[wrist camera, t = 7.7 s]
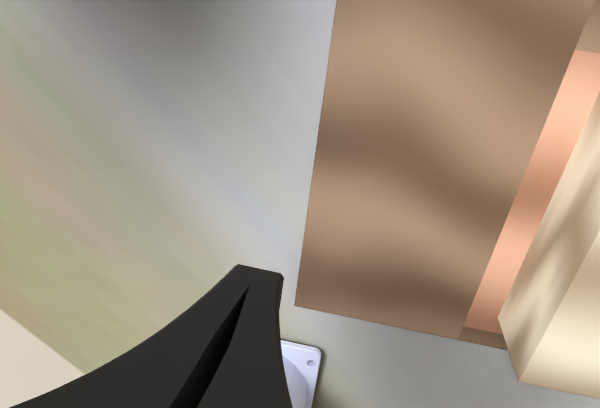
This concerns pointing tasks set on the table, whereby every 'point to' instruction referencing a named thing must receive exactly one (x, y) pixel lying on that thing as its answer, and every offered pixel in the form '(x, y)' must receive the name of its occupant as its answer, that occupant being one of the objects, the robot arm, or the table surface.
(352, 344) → the table surface
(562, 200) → the t block
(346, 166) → the brown rectangular board
